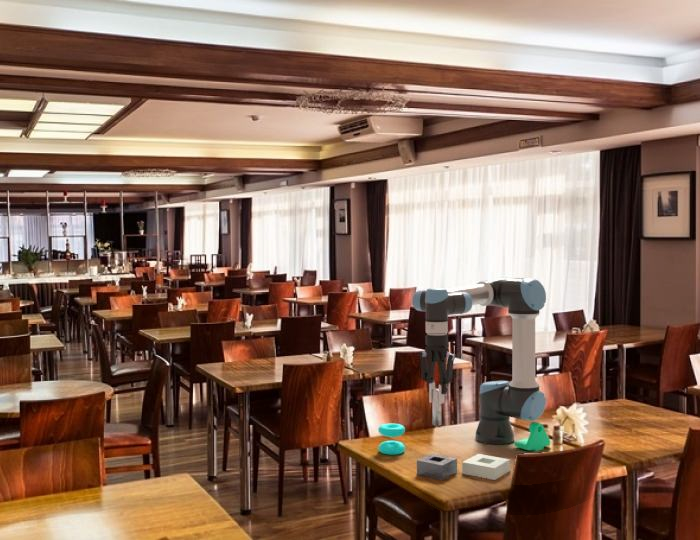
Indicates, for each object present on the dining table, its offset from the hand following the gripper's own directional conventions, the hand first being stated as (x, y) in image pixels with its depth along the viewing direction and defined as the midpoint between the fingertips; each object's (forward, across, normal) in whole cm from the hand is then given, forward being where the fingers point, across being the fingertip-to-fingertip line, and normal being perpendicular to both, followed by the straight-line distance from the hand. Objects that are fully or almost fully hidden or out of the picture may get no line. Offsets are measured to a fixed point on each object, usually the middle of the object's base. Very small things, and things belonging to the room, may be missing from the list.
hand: (436, 402), depth 253 cm
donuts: (+25, -27, +13) cm, 39 cm away
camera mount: (+25, +14, +48) cm, 56 cm away
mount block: (+25, 0, 0) cm, 25 cm away
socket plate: (+25, +13, +11) cm, 30 cm away
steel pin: (+8, 0, 0) cm, 8 cm away
